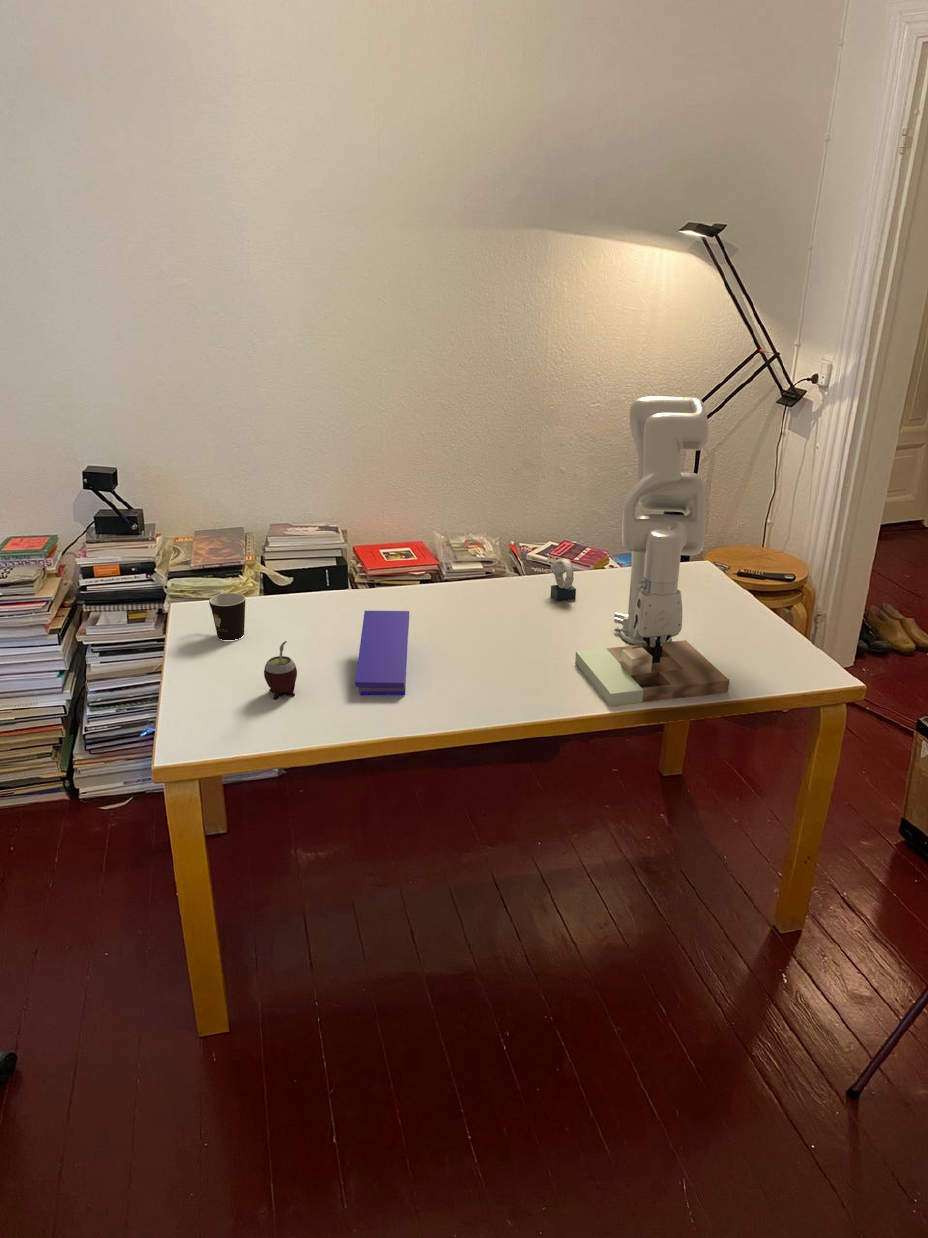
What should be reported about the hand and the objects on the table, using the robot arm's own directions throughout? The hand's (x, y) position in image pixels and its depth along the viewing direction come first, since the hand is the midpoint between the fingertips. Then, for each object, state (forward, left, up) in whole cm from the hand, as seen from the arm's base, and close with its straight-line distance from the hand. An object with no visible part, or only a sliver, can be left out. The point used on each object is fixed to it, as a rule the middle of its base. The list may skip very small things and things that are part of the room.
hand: (653, 660), depth 227 cm
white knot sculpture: (-42, +30, -5) cm, 51 cm away
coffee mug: (-96, -41, -5) cm, 104 cm away
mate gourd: (-62, -56, -5) cm, 84 cm away
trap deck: (+2, +3, -4) cm, 5 cm away
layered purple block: (-52, -33, -5) cm, 62 cm away
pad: (-7, -8, -4) cm, 12 cm away
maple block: (-2, -4, -1) cm, 5 cm away
